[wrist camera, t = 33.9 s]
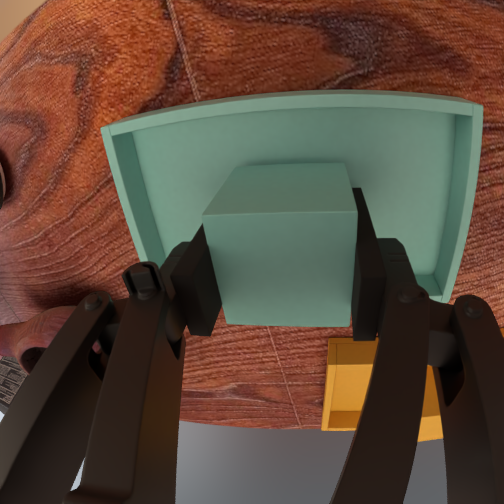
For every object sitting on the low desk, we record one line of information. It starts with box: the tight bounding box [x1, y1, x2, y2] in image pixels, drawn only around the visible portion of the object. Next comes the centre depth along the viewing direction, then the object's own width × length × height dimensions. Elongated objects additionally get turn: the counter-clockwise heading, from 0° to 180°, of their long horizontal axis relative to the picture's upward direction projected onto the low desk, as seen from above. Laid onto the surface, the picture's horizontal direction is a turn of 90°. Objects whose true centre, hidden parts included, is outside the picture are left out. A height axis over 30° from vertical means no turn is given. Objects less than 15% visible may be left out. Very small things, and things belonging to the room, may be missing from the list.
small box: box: [0, 356, 29, 414], centre depth 34 cm, size 11×6×10 cm, turn 103°
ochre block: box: [417, 366, 443, 442], centre depth 21 cm, size 5×5×5 cm
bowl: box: [0, 306, 100, 375], centre depth 25 cm, size 16×13×8 cm
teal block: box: [201, 163, 358, 327], centre depth 13 cm, size 5×5×5 cm
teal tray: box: [100, 90, 483, 303], centre depth 16 cm, size 18×11×3 cm, turn 97°
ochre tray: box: [321, 328, 504, 431], centre depth 22 cm, size 18×11×3 cm, turn 97°
